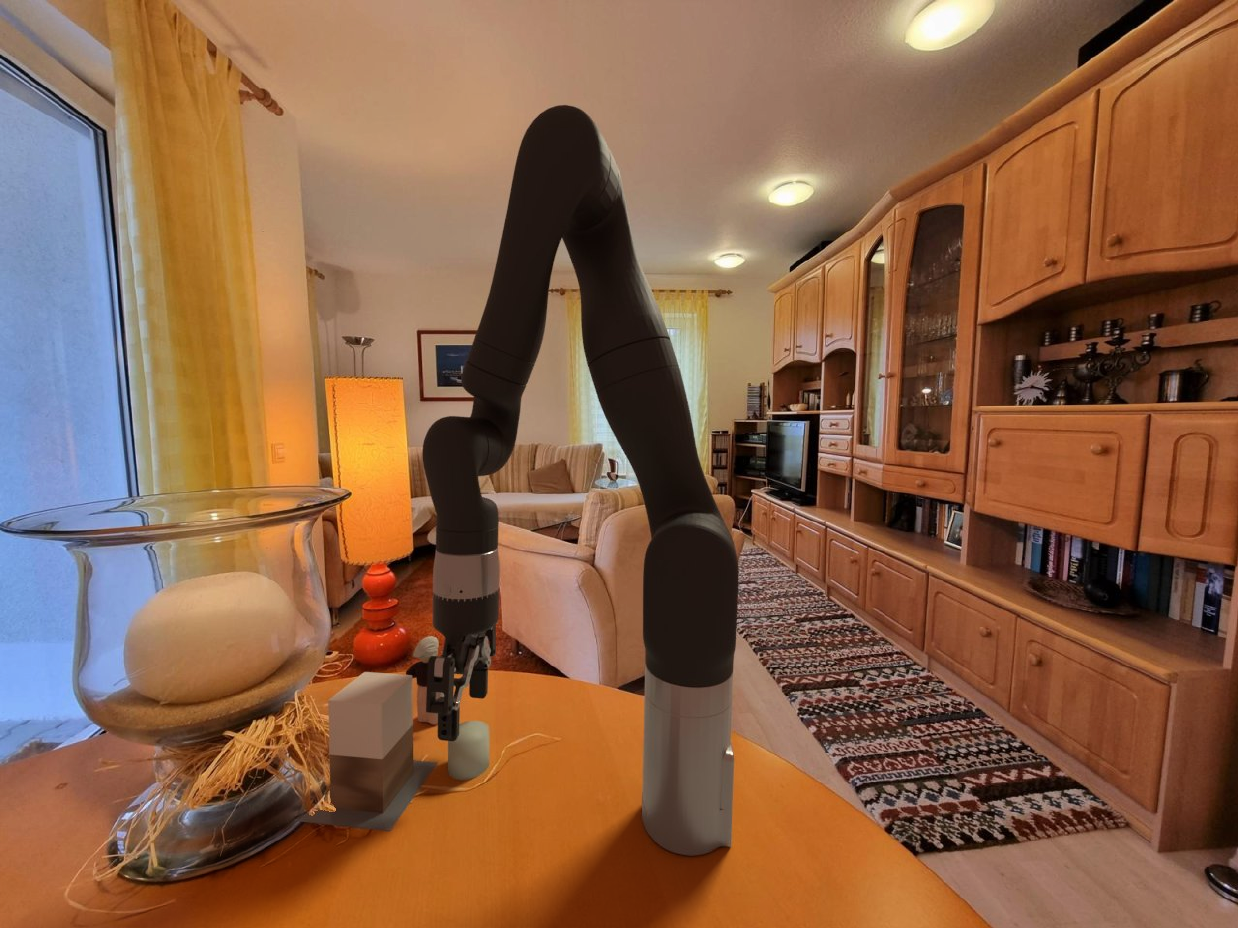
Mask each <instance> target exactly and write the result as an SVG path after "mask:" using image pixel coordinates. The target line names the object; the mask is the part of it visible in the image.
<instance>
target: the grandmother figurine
mask: <svg viewBox="0 0 1238 928" xmlns="http://www.w3.org/2000/svg"><path fill="white" fill-rule="evenodd" d="M439 643H440V642H439V640H438V638H437V637H435V636H433V635H429V636H426V637H424V638H422V639H421V640H420V641H418V643H417V644H416V647H414V651H413V654H412V655H413V657H414V658H415V659H416V658H418V659H419V660H420V661H418V662H415V663H414V664H412V665H411V666H410V667H409V668H408V669H407V670H406V671H405V675H412V680H413V679H416V685H417V689H416V690H417V691H416V708H417V710H416V711H417V721H418V722H420V723H429V724H431V725H432V726H438V713H428V712H426V696H427V673H428V661H429V658H430V657H431V656H438V655H439V649H438V648H439ZM436 695H437V692H436Z"/></svg>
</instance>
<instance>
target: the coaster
mask: <svg viewBox="0 0 1238 928" xmlns="http://www.w3.org/2000/svg"><path fill="white" fill-rule="evenodd" d="M437 765H438V762H435V761H426V760H415V759H413V771H414V773H413V774H412V775H411V777H410V778H409V779H408V781H407V782H406V783H405V785H404V786H403V787H402V789H401V790H400V791H399V793H398V794H397V795H396V797H395V798H394V799H393V801H392V802H391V803H390V805H389V806H388V807H387V809H386V810H385V811H384V813H377V812H368V811H358V810H348V809H338V808H336V811H335V812H329V811H325V810H324V811H323V810H318V811H316V812H315V814H314V815H313V816H311V815H309V813H308V811H307V812H306V813H305V814H304V815H303V816H302V817H301V818H300V820H298V821H299V823H311V824H317V825H318V824H320V825H329V826H335V827H336V826H337V827H347V828H356V829H365V830H375V831H383V832H384V831H385V832H391V831H392V829H393V828H394V827H395V825H396V823H397V822H398V821H399V820H400V818H401V816H402V814H403V813H404V812H405V811H406V809H407V808H408V806H409V804H410V803H412V800H413V799H414V798H415V796H416V795H417V794H418V792H419V791H420V789H421V788H422V786H423V785H424V783H425V782H426V780H427V779H428V777H429V776H430V775H431V774H432V772H433V771H434V769H435V767H436V766H437Z"/></svg>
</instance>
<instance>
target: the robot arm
mask: <svg viewBox="0 0 1238 928" xmlns="http://www.w3.org/2000/svg"><path fill="white" fill-rule="evenodd" d="M513 169H514V171H513V175H512V181H511V185H510V192H509V198H508V203H507V208H506V213H505V214H506V215H505V218H504V223H503V228H502V233H501V239H500V243H499V248H498V253H497V258H496V262H495V268H494V272H493V276H492V277H493V278H492V280H491V281H492V282H491V284H490V285H491V286H490V289H489V293H488V297H487V300H486V304H485V306H484V310H483V313H482V316H481V319H480V322H479V325H478V328H477V331H476V333H475V334H474V335H475V336H474V338H473V342H472V344H471V347H470V350H469V353H468V356H467V358H466V361H465V363H464V366H463V370H462V373H461V379H460V380H461V385H462V388H463V389H464V390H465V391H466V393H467V394H469V395H471V396H472V397H473V402H472V407H471V408H472V409H471V414H470V416H469V417H468V416H459V415H452V416H451V415H448V416H444V417H441V418H439V419H437V420H436V421H434V422H433V423H432V424H431V426H429V428H428V430H427V431H426V434H425V437H424V439H423V443H422V449H421V450H422V451H421V452H422V453H421V456H422V464H423V469H424V473H425V478H426V481H427V486H428V489H429V493H430V497H431V501H432V503H433V507H434V511H435V516H436V523H435V528H436V529H435V556H434V562H433V569H432V570H433V572H432V573H433V575H432V626H433V628H434V629H435V630H436V631H437V632H439V633H440V634H441V635H442V636H443V637H444V642H443V647H442V650H441V655H439V656H431V657H430V658H429V661H428V673H427V696H426V712H428V713H438V725H437V738H438V740H440V741H445V742H448V741H455V740H456V739H457V737H458V736H459V724H460V712H461V710H460V704H461V700H462V696H463V691H464V689H466V688H467V687H469V688H468V689H469V690H468V692H469V693H468V695H469V697H471V698H473V699H481V700H482V699H485V698H486V697H487V695H488V690H489V689H488V688H489V686H488V682H489V668H490V666H491V664H492V658H491V657H495V655H496V653H497V623H498V621H499V616H500V615H499V614H500V581H501V580H500V577H501V575H500V573H501V572H500V571H501V565H500V557H499V519H500V518H499V509H498V505H497V504H496V502H495V501H493V500H492V499H490V498H488V497H484V496H482V492H481V487H480V481H479V477H486V476H490V475H493V474H496V473H498V472H499V471H500V470H502V469H503V468H504V467H505V465H506V464H507V462H508V461H509V459H510V458H511V455H513V454H512V453H513V451H514V449H515V446H516V443H517V441H516V440H517V438H518V437H517V435H518V429H519V424H520V421H519V420H520V418H521V417H520V414H521V407H522V406H521V404H522V397H523V394H524V392H525V390H526V388H527V384H528V383H529V380H530V377H531V375H532V372H533V371H534V368H535V364H536V362H537V359H538V356H539V353H540V351H541V347H542V344H543V340H544V335H545V331H546V330H545V329H546V324H547V315H548V314H547V313H548V303H549V302H548V301H549V294H550V293H549V291H550V285H551V276H552V272H553V268H554V263H555V260H556V256H557V253H558V249H559V246H560V243H561V241H563V244H564V246H565V248H566V252H567V253H568V256H569V259H570V261H571V264H572V267H573V269H574V273H575V276H576V279H577V283H578V286H579V294H580V320H581V325H580V326H581V337H582V346H583V351H584V356H585V359H586V364H587V367H588V371H589V374H590V376H591V381H592V383H593V387H594V390H595V394H596V395H597V396H596V397H597V399H598V403H599V406H600V407H601V410H602V412H603V414H604V416H605V419H606V421H607V423H608V426H609V428H610V429H611V431H612V433H613V435H614V438H615V439H616V440H617V443H618V445H619V446H620V448H621V450H622V452H623V453H624V455H625V457H626V458H627V461H628V462H629V464H630V467H631V468H632V471H633V473H634V474H635V477H636V480H637V483H638V485H639V488H640V491H641V495H642V498H643V502H644V506H645V507H644V508H645V511H646V515H647V520H648V525H649V530H650V536H651V540H650V542H649V543H648V545H647V548H646V551H645V554H644V559H643V560H644V561H643V573H642V574H643V575H642V576H643V578H642V639H643V640H642V641H643V645H644V648H645V649H644V651H645V652H644V653H645V654H644V655H645V657H644V663H645V665H644V702H643V703H644V704H643V706H644V708H643V709H644V710H643V712H644V713H643V714H644V715H643V747H642V749H643V751H642V752H643V753H642V793H641V807H642V808H641V809H642V810H641V816H642V817H641V818H642V823H643V826H644V830H646V832H647V834H648V836H650V838H651V839H652V840H653V841H654V842H655V843H656V844H658V845H659V846H660V847H662V848H664V849H665V850H667V851H669V852H671V853H673V854H679V855H682V856H692V857H693V856H702V855H705V854H708V853H712V852H713V851H714V850H716V849H718V848H719V847H729V848H730V847H731V846H732V839H733V837H732V836H733V835H732V834H733V833H732V832H733V807H734V806H733V805H734V804H733V803H734V776H735V775H734V774H735V772H734V771H735V754H734V748H733V745H732V721H733V720H732V717H733V716H732V715H733V689H734V688H733V687H734V665H735V663H734V662H735V661H734V660H735V652H736V647H737V645H736V644H737V630H738V629H737V626H738V625H737V624H738V605H739V604H738V603H739V602H738V601H739V581H740V579H739V577H740V576H739V575H740V574H739V573H740V572H739V568H740V567H739V560H738V559H739V558H738V555H737V548H736V546H735V542H734V539H733V536H732V535H731V532H730V530H729V528H728V527H727V524H726V523H725V520H724V518H723V516H722V514H721V512H720V510H719V507H718V505H717V503H716V500H715V498H714V496H713V495H714V494H713V493H712V491H711V488H710V486H709V483H708V481H707V479H706V477H705V473H704V471H703V467H702V464H701V461H700V457H699V453H698V449H697V444H696V437H695V432H694V426H693V420H692V416H691V415H692V414H691V410H690V406H689V401H688V397H687V392H686V389H685V388H686V387H685V385H684V381H683V376H682V373H681V369H680V365H679V362H678V359H677V356H676V353H675V349H674V346H673V343H672V340H671V337H670V334H669V332H668V329H667V326H666V323H665V321H664V318H663V316H662V312H661V310H660V308H659V305H658V302H657V300H656V297H655V295H654V292H653V290H652V288H651V285H650V284H649V281H648V279H647V277H646V275H645V273H644V270H643V268H642V265H641V263H640V259H639V256H638V253H637V249H636V246H635V241H634V236H633V231H632V226H631V223H630V218H629V213H628V208H627V207H628V206H627V201H626V196H625V191H624V186H623V179H622V175H621V172H620V168H619V166H618V165H617V162H616V159H615V157H614V154H613V153H612V151H611V149H610V147H609V145H608V143H607V142H606V139H605V137H604V136H603V134H602V131H601V130H600V129H599V127H598V125H597V124H596V123H595V121H594V120H593V119H592V118H591V116H589V114H587V113H586V112H585V111H584V110H582V109H581V108H579V107H576V106H573V105H568V104H562V105H555V106H552V107H549V108H547V109H546V110H544V111H542V112H541V113H539V114H538V115H537V116H536V117H535V118H534V119H533V120H532V121H531V123H530V124H529V126H528V127H527V129H526V131H525V132H524V135H523V137H522V140H521V143H520V146H519V148H518V151H517V156H516V160H515V165H514V168H513ZM455 675H462V676H461V677H459V678H458V677H457V678H456V677H455ZM454 688H455V689H454ZM436 692H437V695H436Z"/></svg>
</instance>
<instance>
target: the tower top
mask: <svg viewBox="0 0 1238 928" xmlns="http://www.w3.org/2000/svg"><path fill="white" fill-rule="evenodd" d="M413 694H414V693H413V679H412V675H406V674H399V673H387V672H386V673H383V672H373V671H371V672H370V671H364V672H363V673H361V674H359V676H357V677H356V678H355V679H353V680H352V681H350V683H348V684H347V685H346V686H345V687H343V688H342V689H340V691H338V692H336V694H334V695H333V696H331V698H329V699H328V700H327V705H328V707H327V709H328V743H329V744H328V745H329V747H328V748H329V752H328V753H329V754H330V755H341V756H352V757H363V758H374V759H383V758H384V757H385V756H386V755H387V753H388V752H389V751H390V750H391V749H392V748H393V747H394V745H395V744H396V743H397V742H398V741H399V740H400V739H401V737H402V736H403V735H404V734H405V733H406V732H407V731H408V729H409V728H410V727H411V726H412V725H413V726H414V713H413V712H414V706H413V705H414V702H413Z"/></svg>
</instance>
